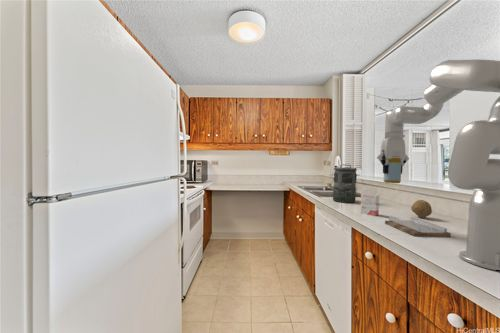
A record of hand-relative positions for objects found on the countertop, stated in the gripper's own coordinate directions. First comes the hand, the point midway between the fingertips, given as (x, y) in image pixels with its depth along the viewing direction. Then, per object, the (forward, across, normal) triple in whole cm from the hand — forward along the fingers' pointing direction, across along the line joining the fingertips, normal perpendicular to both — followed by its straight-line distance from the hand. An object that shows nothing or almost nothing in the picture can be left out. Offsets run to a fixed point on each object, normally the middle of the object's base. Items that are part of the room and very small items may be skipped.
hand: (392, 173), depth 109 cm
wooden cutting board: (+23, -6, +8) cm, 26 cm away
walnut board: (+25, -6, +8) cm, 27 cm away
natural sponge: (+25, -28, -14) cm, 40 cm away
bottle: (+5, 0, 0) cm, 5 cm away
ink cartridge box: (+25, -2, -21) cm, 32 cm away
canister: (+24, -7, -61) cm, 65 cm away
